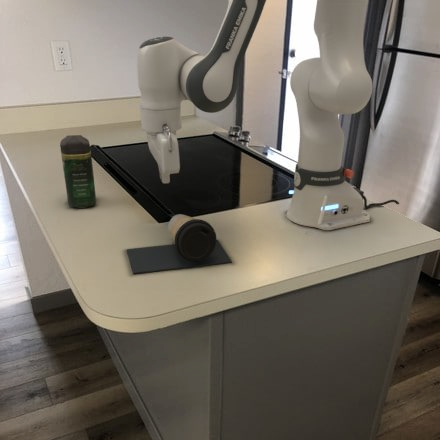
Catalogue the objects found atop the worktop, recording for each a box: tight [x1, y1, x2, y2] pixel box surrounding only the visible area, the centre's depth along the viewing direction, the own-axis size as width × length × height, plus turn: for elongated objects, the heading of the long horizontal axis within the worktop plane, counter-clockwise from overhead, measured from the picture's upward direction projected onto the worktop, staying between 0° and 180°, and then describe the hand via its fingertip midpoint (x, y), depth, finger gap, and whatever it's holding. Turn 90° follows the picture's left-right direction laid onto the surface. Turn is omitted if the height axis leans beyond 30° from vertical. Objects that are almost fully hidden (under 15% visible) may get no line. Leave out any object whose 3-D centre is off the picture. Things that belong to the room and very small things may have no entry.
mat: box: [126, 239, 233, 275], centre depth 111 cm, size 22×12×1 cm, turn 106°
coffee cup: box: [167, 213, 218, 262], centre depth 111 cm, size 9×9×15 cm
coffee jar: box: [59, 134, 97, 209], centre depth 135 cm, size 10×8×19 cm
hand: (165, 181), depth 114 cm, fingers closed
